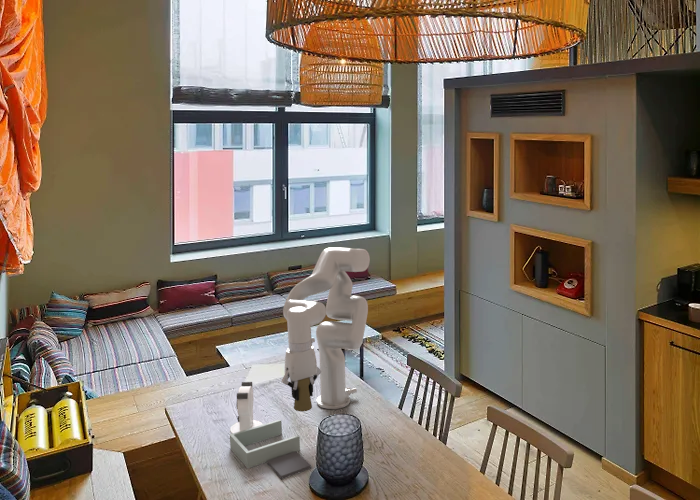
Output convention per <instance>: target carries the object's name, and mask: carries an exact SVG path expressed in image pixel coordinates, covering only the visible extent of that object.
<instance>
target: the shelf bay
mask: <svg viewBox="0 0 700 500" xmlns="http://www.w3.org/2000/svg"><path fill="white" fill-rule="evenodd" d="M262 424H263V425H260V426H257V427H253V428H250V429H247V430H243V431H240V432H237V433H233V434H232V433H230V434H229V445H230V450H231V451H232V452H233V453H234V455H235V456H236V457H237V458H238V459H239V460H240V461H241V463H242V464H243V465H244V466H245V467H246V468H247V469H251V468H253V467H256V466H259V465H262V464H265V463H267V461H268V460H271V459H274V458H277V457H280V456H283V455H286V454H289V453H292V452H295V451H296V452H297V453H299V452H300V451H301V439H300V437H301V436H300V435H298V434H297V435H294V436H292V437H288V438H284V439H281V440H278V441H276V442H272V443H269V444H265V445H263V446H260V447H256V448H253V449H251V450H248V448H247V447H246V446H249V445H252V444H256V443H259V442H261V441H264V440H265V441H266V440H268V439H271V438H275V437H278V436H282V435H283V426H282V419H277V420H274V421H270V422H266V423H262Z"/></svg>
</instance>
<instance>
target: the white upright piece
mask: <svg viewBox="0 0 700 500" xmlns="http://www.w3.org/2000/svg"><path fill="white" fill-rule="evenodd" d="M253 389H254V388H253V381H241V385H240V387H239V388H238V392H236V410H237V422H236V423H234V424H233V425H231V426H230V428H229V429H230V434H233V433H237V432H240V431H243V430H247V429H250V428H253V427H257V426H260V425H263V424H264V423H262V422H261V421H259V420H255V419H254V390H253Z"/></svg>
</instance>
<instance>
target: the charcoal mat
mask: <svg viewBox="0 0 700 500" xmlns="http://www.w3.org/2000/svg"><path fill="white" fill-rule="evenodd" d="M266 464H267V465H268V467H270V469H271V470H272V471H273V472H274V473H275V474H276V475H277V476H278V478H280V479H281V480H283V479H285V478H288V477H291V476H293V475H297V474H299V473H302V472H305V471H308V470H311V469H312V465H311V464H310V463H309V461H307V460H306V459H305V458H304V457H303V456H302V455H301V454H300V453H299V452H296V451H295V452H292V453H289V454H286V455H283V456H280V457H277V458H274V459H271V460H268V461H267V462H266Z"/></svg>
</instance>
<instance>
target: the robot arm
mask: <svg viewBox="0 0 700 500" xmlns="http://www.w3.org/2000/svg"><path fill="white" fill-rule="evenodd" d="M370 257H371V256H370V254H369V251H367V249H365V248H351V247H327V248H325V249H323V250H322V251H321V253H320V255H319V257H318V258H317V261H316V264H315V265H314V268H313V270H312V273H311V275H309V276H307V277H306V278H304V279H302V280H301V281H300V282H297V284H296V285H294V287H293V288H292V289H291V290H290V291H289V293H288V296H287V298H286V300H285V301H284V305H283V307H282V312H283V313H282V314H283V317H284V319H285V320H286V321H287V322H286V323H287V324H286V325H287V340H288V343H287V344H288V348H287V349H286V351H285V356H284V375H283V377H282V379H281V381H280V382H281V383H282V384H284V385H287V386H289V388H291V397H292V398H293V399H294V401H295V400H297V401H298V400H299V390H298V389H297V384H298V380H301V379H305V378H308V377H309V378H310V384H309V392H310V397H313V396H314V395H313V394H314V393H313V392H314V384H315V382H316V380H317V378H318V377H319V378H320V379H319V380H320V382H319V383H320V395H319V396H318V397H317V398H316V404H317V406H319V407H320V408H323V409H326V410H327V409H328V410H338V409H342V408H345V407H347V406H349V404H350V403H351V398H350V396H351V394H352V395H353V394H356V393H357V392H358V390H357V387H353V388H351V387H349V386H348V387H346V384H347V383H346V357H345V353H344V352H343V350H342V349H344V350H354V351H355V350H358V349H360V348H361V346H362V344H363V340H364V336H365V330H366V325H367V320H368V319H367V318H368V313H369V306H368V305H369V304H368V301H367V300H366V298H365V297H364V296H360V295H352V290H353V285H354V284H353V281H352V280H351V278H350V276H349V275H348V273H347V272H350V273H351V272H352V273H353V272H354V273H357V272H360V273H361V272H366V270H367V269H368V268H369V265H370V262H371V261H370V259H371V258H370ZM327 291H328V296H327V301H326V304H324V303H323V302H321V301H317V300H308V299H307V298H308V297H312V296H315V295H318V294H321V293H324V292H327ZM305 299H307V300H305ZM325 305H326V306H325ZM326 316H327V318H329V319H332V320H336V321H332V320H328V321H327V320H326V321H323V320H324V319H325V318H326ZM337 320H339V321H337ZM342 321H349V322H342ZM315 325H317V327H316V330H315V336H316V337H315V338H316V340H315V338H314V337H312V326H315ZM315 341H316V343H317V346H318V353H319V355H318V356H319V357H318V359H319V367H318V364H317V357H316V351H315V348H314V346H313V343H315ZM289 380H290V381H289Z"/></svg>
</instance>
